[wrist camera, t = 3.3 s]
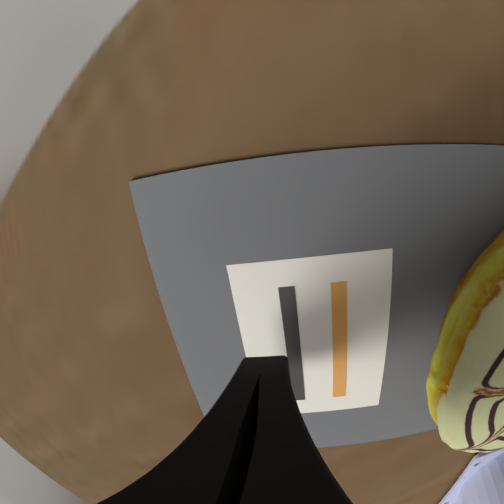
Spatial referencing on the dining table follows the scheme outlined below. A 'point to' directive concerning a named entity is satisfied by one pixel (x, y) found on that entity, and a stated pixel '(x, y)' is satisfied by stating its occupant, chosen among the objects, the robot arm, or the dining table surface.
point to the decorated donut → (472, 359)
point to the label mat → (322, 272)
